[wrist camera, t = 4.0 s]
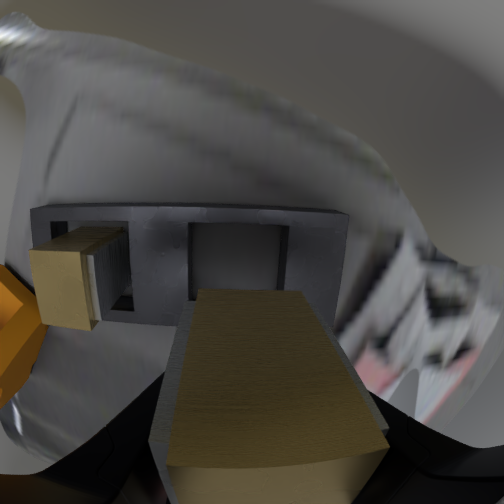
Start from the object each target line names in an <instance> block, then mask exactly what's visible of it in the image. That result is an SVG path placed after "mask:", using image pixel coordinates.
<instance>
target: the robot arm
mask: <svg viewBox="0 0 504 504" xmlns="http://www.w3.org/2000/svg"><path fill="white" fill-rule="evenodd" d="M164 374H165V372H163V373H162V374H161V375H160V376H159V377H158V378H157V379H156V380H155V381H154V382H153V383H152V384H151V385H150V386H148V387H147V388H146V389H145V390H144V391H143V392H142V393H141V394H140V395H139V396H138V397H137V398H135V399H134V400H133V401H132V402H131V403H130V404H129V405H128V406H127V407H126V408H125V409H123V410H122V411H121V412H120V413H119V414H118V415H117V416H116V417H115V418H114V419H112V420H111V421H110V422H109V423H108V424H107V425H106V427H103V428H102V429H101V430H100V431H99V432H98V433H97V434H95V435H94V436H93V437H92V438H91V439H89V440H88V441H87V442H86V443H84V444H83V445H81V446H80V447H79V448H77V449H76V450H74V451H73V452H71V453H70V454H68V455H67V456H65V457H64V458H62V459H61V460H59V461H58V462H56V463H54V464H53V465H51V466H50V467H48V468H46V469H45V470H43V471H41V472H38V473H35V474H30V475H7V474H6V475H5V474H0V504H171V503H170V500H169V498H168V496H167V493H166V491H165V488H164V485H163V483H162V480H161V477H160V475H159V472H158V469H157V466H156V463H155V461H154V458H153V455H152V452H151V448H150V445H149V442H148V440H149V436H150V431H151V427H152V423H153V418H154V414H155V410H156V406H157V402H158V398H159V394H160V390H161V386H162V382H163V378H164ZM368 392H369V394H370V395H371V397H372V399H373V400H374V402H375V404H376V406H377V407H378V409H379V411H380V412H381V414H382V416H383V417H384V419H385V421H386V423H387V424H388V426H389V430H388V432H387V434H386V436H385V439H386V441H387V442H388V444H389V446H390V448H389V450H388V451H387V453H386V455H385V456H384V458H383V459H382V461H381V462H380V464H379V465H378V467H377V468H376V470H375V471H374V473H373V474H372V476H371V477H370V478H369V480H368V481H367V483H366V484H365V485H364V487H363V488H362V489H361V491H360V492H359V493H358V495H357V496H356V497H355V499H354V500H353V501H352V502H351V504H504V445H501V446H495V447H490V448H475V447H471V446H468V445H466V444H463V443H461V442H459V441H456V440H454V439H452V438H450V437H447V436H445V435H443V434H441V433H439V432H437V431H435V430H433V429H431V428H429V427H427V426H425V425H423V424H422V423H420V422H418V421H416V420H415V419H413V418H412V417H410V416H409V417H408V416H407V415H406V414H405V413H403V412H402V411H400V410H398V409H397V408H395V407H394V406H392V405H390V404H389V403H387V402H386V401H384V400H383V399H381V398H379V397H378V396H376V395H375V394H373V393H372V392H370V391H369V390H368Z"/></svg>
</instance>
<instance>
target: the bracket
mask: <svg viewBox="0 0 504 504" xmlns="http://www.w3.org/2000/svg"><path fill="white" fill-rule="evenodd" d="M47 329H48V326H47V324H42V320H41V316H40V312H39V307H38V303H37V298H36V296H35V295H33V294H32V293H31V292H30V291H29V290H28V289H27V288H26V287H25V286H24V285H23V284H22V283H21V282H20V281H19V280H18V279H17V278H16V277H15V276H14V275H13V274H12V273H11V272H10V271H9V270H8V269H7V268H6V267H5V266H3V265H1V264H0V409H1V408H2V407H3V406H4V405H5V404H6V403H7V402H8V401H9V400H10V399H11V398H12V397H13V396H14V395H15V394H16V393H17V392H18V391H19V389H20V388H21V387H22V386H23V385H24V383H25V382H26V381H27V379H28V378H29V375H30V372H31V369H32V366H33V364H34V363H35V362H36V359H37V356H38V354H39V351H40V348H41V345H42V342H43V340H44V337H45V334H46V332H47Z"/></svg>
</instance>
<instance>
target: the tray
mask: <svg viewBox="0 0 504 504" xmlns="http://www.w3.org/2000/svg"><path fill="white" fill-rule="evenodd" d="M30 216H31V230H32V241H33V248H34V247H36V246H39V245H41V244H43V243H45V242H47V241H49V240H52V239H54V238H56V237H58V236H61V235H63V234H65V233H67V232H68V230H67V221H129V248H130V265H131V279H132V291H133V297H129V296H120V297H119V299H118V300H117V301H116V303H115V304H114V305H113V306H112V308H111V309H110V310H109V312H108V313H107V314H106V315H105V317H104V318H103V319H102V320H105V321H115V322H125V323H137V324H150V325H165V326H178V323H179V320H180V316H181V313H182V310H183V306H184V303H185V301H196V300H193V299H192V222H209V223H240V224H266V225H282V229H281V242H280V255H279V267H278V279H277V290H281V291H302V293H303V295H304V296H305V298H306V300H307V302H308V303H314V304H315V305H316V307H317V309H318V310H319V312H320V313H321V315H322V317H323V318H324V320H325V321H326V323H327V325H328V326H329V327H332V326H333V323H334V318H335V312H336V307H337V301H338V295H339V289H340V282H341V276H342V269H343V262H344V254H345V247H346V239H347V230H348V221H349V215H348V214H345V213H342V212H339V211H337V210H327V209H313V208H298V207H282V206H262V205H240V204H210V203H80V204H53V205H45V206H40V207H36V208H32V209H30Z"/></svg>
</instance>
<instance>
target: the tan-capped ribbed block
mask: <svg viewBox="0 0 504 504" xmlns="http://www.w3.org/2000/svg"><path fill="white" fill-rule="evenodd" d="M29 256H30V264H31V270H32V277H33V282H34V288H35V293H36V298H37V303H38V307H39V312H40V316H41V320H42V324H47V325H53V326H59V327H66V328H72V329H79V330H87V331H92V330H93V328H94V327H95V326H96V324H97V323H98V322H99V320H100V321H102V319H103V318H104V317H105V315H106V314H107V313H108V312H109V310H110V309H111V308H112V306H113V305H114V304H115V303H116V301H117V300H118V299H119V297H120V296H121V295H122V294H123V292H124V291H125V290H126V289H127V287H128V286H129V285H130V284H131V279H130V265H129V248H128V233H123V227H79V228H77V229H74V230H72V231H70V232H67V233H65V234H63V235H61V236H58V237H56V238H54V239H52V240H49V241H47V242H45V243H43V244H41V245H39V246H36V247H34V248H32V249H30V250H29Z"/></svg>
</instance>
